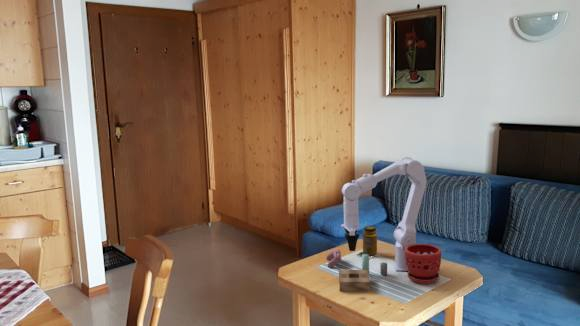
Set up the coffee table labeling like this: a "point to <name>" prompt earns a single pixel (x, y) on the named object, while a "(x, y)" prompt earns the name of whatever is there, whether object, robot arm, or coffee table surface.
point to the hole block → (354, 280)
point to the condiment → (369, 242)
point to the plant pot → (423, 263)
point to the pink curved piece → (334, 257)
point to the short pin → (383, 269)
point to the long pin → (365, 262)
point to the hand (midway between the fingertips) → (351, 247)
